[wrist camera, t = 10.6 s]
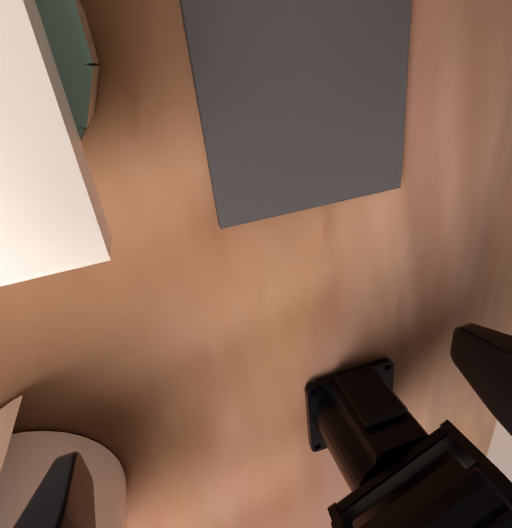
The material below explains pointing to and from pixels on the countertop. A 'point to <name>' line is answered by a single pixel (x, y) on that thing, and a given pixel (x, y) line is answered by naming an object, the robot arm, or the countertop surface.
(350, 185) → the mat
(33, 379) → the countertop surface
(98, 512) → the toilet tissue
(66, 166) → the white rectangular block
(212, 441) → the countertop surface
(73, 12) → the bowl
